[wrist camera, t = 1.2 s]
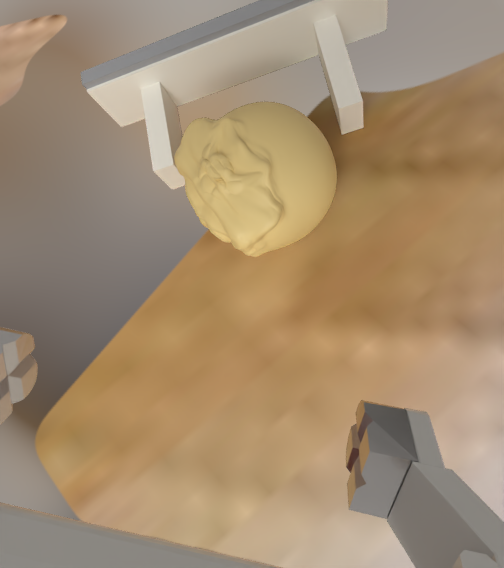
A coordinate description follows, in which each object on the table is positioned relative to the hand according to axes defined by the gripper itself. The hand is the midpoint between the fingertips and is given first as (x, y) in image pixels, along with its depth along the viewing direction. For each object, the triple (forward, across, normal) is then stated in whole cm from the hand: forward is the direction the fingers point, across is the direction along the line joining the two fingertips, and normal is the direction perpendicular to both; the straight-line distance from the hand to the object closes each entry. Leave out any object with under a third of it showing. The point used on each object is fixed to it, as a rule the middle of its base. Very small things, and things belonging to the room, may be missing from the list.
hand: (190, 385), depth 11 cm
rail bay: (+37, +4, -2) cm, 38 cm away
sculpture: (+31, 0, +5) cm, 32 cm away
